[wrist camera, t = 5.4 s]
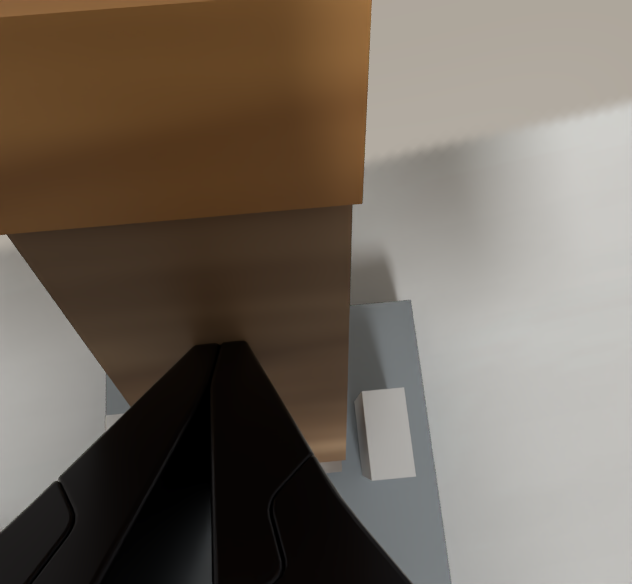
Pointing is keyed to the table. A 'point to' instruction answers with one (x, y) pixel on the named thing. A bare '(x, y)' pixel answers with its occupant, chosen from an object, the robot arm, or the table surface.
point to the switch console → (382, 441)
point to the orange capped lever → (192, 182)
